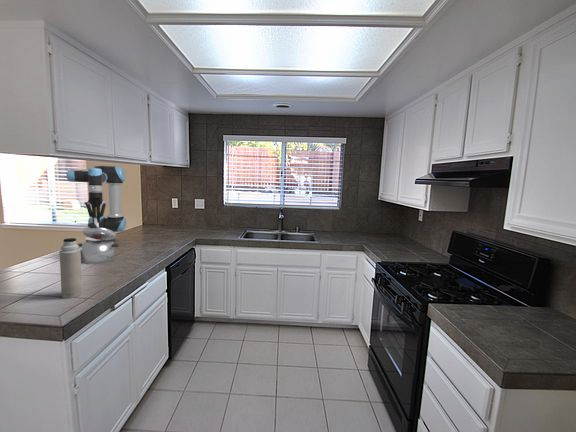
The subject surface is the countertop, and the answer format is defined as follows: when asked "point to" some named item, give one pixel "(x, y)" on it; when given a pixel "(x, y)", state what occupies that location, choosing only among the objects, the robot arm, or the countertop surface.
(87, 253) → the cooker pot
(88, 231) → the cooker lid
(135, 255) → the countertop surface
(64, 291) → the thermos bottle
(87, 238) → the plastic cup
